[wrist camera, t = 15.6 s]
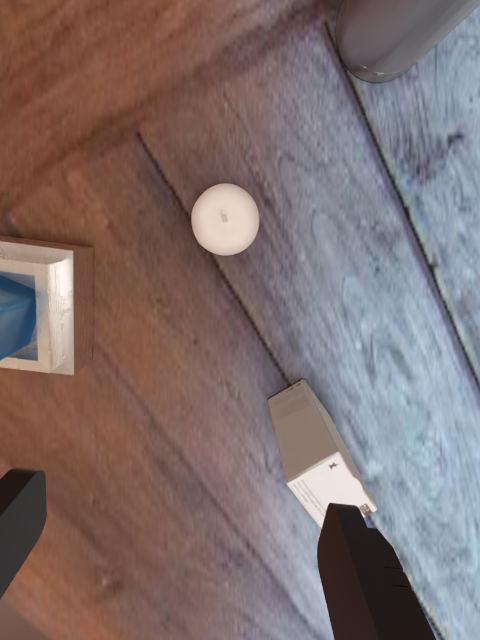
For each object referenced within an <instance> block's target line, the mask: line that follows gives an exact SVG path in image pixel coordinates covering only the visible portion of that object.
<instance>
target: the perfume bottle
mask: <svg viewBox="0 0 480 640" xmlns="http://www.w3.org/2000/svg"><path fill="white" fill-rule="evenodd" d="M36 321H37V320H36V294H35V290H34V289H32V288H29V287H27V286H25V285H22V284H20V283H18V282H15V281H13V280H11V279H8V278H6V277H4V276H1V275H0V360H2V359H4V358H6V357H7V356H9V355H11V354H13V353H14V352H16V351H18V350H20V349H21V348H23V347H25V346H27V345H28V344H29V343H30V340H31V337H32V334H33V331H34V327H35V324H36Z"/></svg>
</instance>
